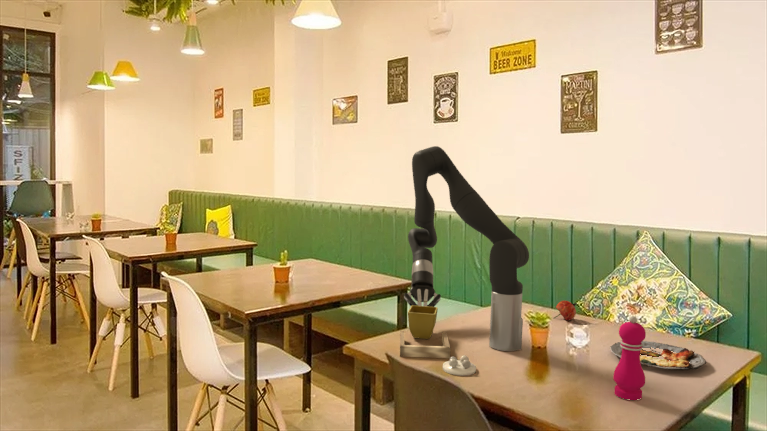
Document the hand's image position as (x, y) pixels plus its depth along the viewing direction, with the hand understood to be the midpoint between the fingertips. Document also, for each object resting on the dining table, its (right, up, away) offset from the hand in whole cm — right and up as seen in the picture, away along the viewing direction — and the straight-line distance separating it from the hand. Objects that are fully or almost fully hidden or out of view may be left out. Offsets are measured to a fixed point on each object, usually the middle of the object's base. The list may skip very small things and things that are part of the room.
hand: (422, 319), depth 189 cm
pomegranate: (+54, -4, +21) cm, 58 cm away
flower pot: (0, -5, -4) cm, 7 cm away
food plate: (+67, -8, -21) cm, 71 cm away
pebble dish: (+8, -8, -33) cm, 34 cm away
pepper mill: (+47, -10, -48) cm, 68 cm away
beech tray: (-1, -6, -16) cm, 17 cm away
